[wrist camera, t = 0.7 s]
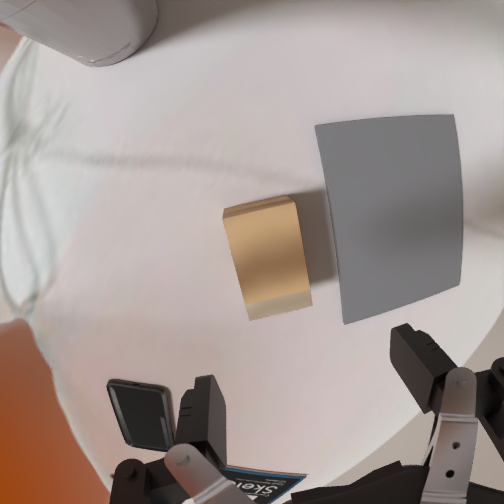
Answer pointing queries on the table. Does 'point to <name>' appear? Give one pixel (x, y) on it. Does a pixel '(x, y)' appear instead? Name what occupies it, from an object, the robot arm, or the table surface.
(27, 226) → the table surface
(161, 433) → the phone
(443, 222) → the mat
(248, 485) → the sketchbook
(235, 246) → the block
